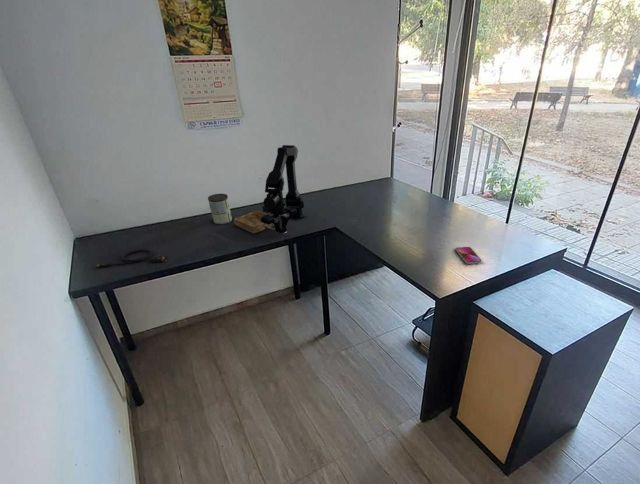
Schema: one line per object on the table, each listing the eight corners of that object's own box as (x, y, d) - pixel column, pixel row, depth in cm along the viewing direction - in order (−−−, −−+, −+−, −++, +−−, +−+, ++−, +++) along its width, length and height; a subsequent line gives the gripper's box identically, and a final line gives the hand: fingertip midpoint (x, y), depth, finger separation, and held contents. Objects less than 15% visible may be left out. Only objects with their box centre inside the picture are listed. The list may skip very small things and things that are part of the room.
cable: (108, 254, 182) (107, 251, 181) (170, 248, 186) (169, 246, 185) (97, 268, 171) (95, 265, 170) (163, 262, 175) (162, 259, 174)
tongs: (264, 228, 200) (263, 223, 198) (272, 224, 203) (272, 220, 202) (281, 235, 192) (280, 230, 191) (289, 231, 196) (289, 227, 194)
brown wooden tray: (258, 217, 219) (257, 210, 217) (277, 225, 209) (276, 218, 207) (234, 225, 209) (233, 218, 207) (254, 234, 199) (252, 227, 197)
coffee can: (210, 220, 216) (205, 195, 208) (228, 216, 221) (224, 192, 213) (216, 226, 209) (210, 201, 201) (234, 221, 213) (230, 197, 206)
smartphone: (469, 246, 183) (482, 261, 170) (469, 248, 183) (482, 263, 171) (454, 247, 182) (466, 262, 169) (454, 249, 183) (466, 264, 170)
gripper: (281, 193, 197) (285, 221, 206) (251, 203, 186) (256, 232, 194) (296, 197, 191) (298, 226, 200) (266, 208, 179) (270, 238, 188)
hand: (281, 230), depth 195 cm, fingers closed on tongs, 3 cm apart
